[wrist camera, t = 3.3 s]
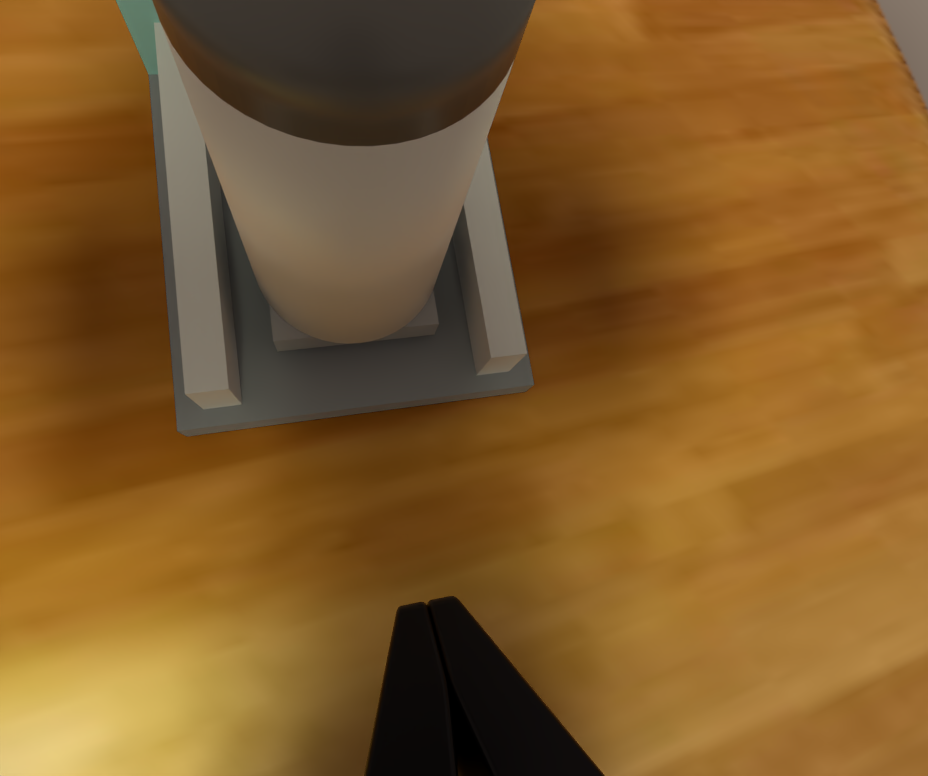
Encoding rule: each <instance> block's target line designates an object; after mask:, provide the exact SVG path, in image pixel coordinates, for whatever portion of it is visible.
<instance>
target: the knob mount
mask: <svg viewBox="0 0 928 776" xmlns="http://www.w3.org/2000/svg"><path fill="white" fill-rule="evenodd" d="M116 2H117V4H118V6H119V8H120V11H121V13H122V15H123V18H124V20H125V22H126V24H127V27H128V29H129V31H130V33H131V36H132V38H133V40H134V42H135V45H136V47H137V49H138V51H139V54H140V56H141V58H142V61H143V63H144V65H145V67H146V70H147V72H148V74H149V85H150V97H151V110H152V122H153V135H154V147H155V160H156V172H157V185H158V197H159V209H160V222H161V234H162V247H163V259H164V272H165V284H166V297H167V309H168V322H169V334H170V347H171V359H172V372H173V384H174V396H175V409H176V421H177V431H178V432H180V433H181V434H183V435H185V436H194V435H201V434H209V433H217V432H224V431H232V430H239V429H247V428H254V427H262V426H270V425H277V424H285V423H292V422H300V421H307V420H315V419H323V418H330V417H338V416H345V415H353V414H361V413H368V412H376V411H383V410H391V409H398V408H406V407H414V406H421V405H429V404H436V403H444V402H452V401H459V400H467V399H474V398H482V397H489V396H497V395H505V394H512V393H520V392H526V391H527V390H528V389H530V388H531V387H532V386H533V385H534V381H533V375H532V370H531V365H530V360H529V354H528V349H527V344H526V339H525V333H524V328H523V323H522V318H521V312H520V307H519V302H518V296H517V291H516V286H515V281H514V275H513V270H512V265H511V260H510V254H509V249H508V244H507V239H506V233H505V228H504V223H503V217H502V212H501V207H500V202H499V196H498V191H497V186H496V181H495V175H494V170H493V165H492V160H491V154H490V149H489V144H488V138H487V139H486V141H485V144H484V147H483V150H482V153H481V156H480V158H479V161H478V164H477V167H476V170H475V172H474V175H473V178H472V181H471V184H470V187H469V189H468V192H467V195H466V198H465V201H464V204H463V206H462V209H461V212H460V215H459V218H458V221H457V223H456V226H455V229H454V232H453V235H452V237H451V240H450V243H449V246H448V249H447V252H446V254H445V257H444V260H443V263H442V266H441V269H440V271H439V274H438V277H437V280H436V283H435V285H434V288H433V290H434V297H435V303H436V309H437V315H438V321H439V325H438V327H437V329H436V332H435V334H434V335H426V336H417V337H408V338H398V339H389V340H380V341H371V342H363V343H352V344H343V345H334V346H325V347H316V348H307V349H297V350H288V351H279V352H277V349H276V347H275V344H274V342H273V334H272V325H271V316H270V307H269V303H268V302H267V300H266V299H265V297H264V296H263V294H262V292H261V290H260V288H259V286H258V283H257V280H256V278H255V275H254V272H253V269H252V267H251V264H250V261H249V259H248V256H247V253H246V251H245V248H244V245H243V243H242V240H241V237H240V235H239V232H238V229H237V227H236V224H235V221H234V218H233V216H232V213H231V210H230V208H229V205H228V202H227V200H226V197H225V194H224V192H223V189H222V186H221V184H220V181H219V178H218V176H217V173H216V170H215V167H214V165H213V162H212V159H211V157H210V154H209V151H208V149H207V146H206V143H205V141H204V138H203V135H202V133H201V130H200V127H199V125H198V122H197V119H196V116H195V114H194V111H193V108H192V106H191V103H190V100H189V98H188V95H187V92H186V90H185V87H184V84H183V82H182V79H181V76H180V74H179V71H178V68H177V65H176V63H175V60H174V57H173V55H172V52H171V49H170V47H169V44H168V41H167V39H166V36H165V33H164V31H163V28H162V25H161V22H160V20H159V17H158V14H157V12H156V9H155V6H154V4H153V1H152V0H116Z"/></svg>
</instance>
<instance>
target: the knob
mask: <svg viewBox="0 0 928 776" xmlns="http://www.w3.org/2000/svg"><path fill="white" fill-rule="evenodd" d="M152 1H153V4H154V6H155V9H156V12H157V14H158V17H159V20H160V22H161V25H162V28H163V31H164V33H165V36H166V39H167V41H168V44H169V47H170V49H171V52H172V55H173V57H174V60H175V63H176V65H177V68H178V71H179V74H180V76H181V79H182V82H183V84H184V87H185V90H186V92H187V95H188V98H189V100H190V103H191V106H192V108H193V111H194V114H195V116H196V119H197V122H198V125H199V127H200V130H201V133H202V135H203V138H204V141H205V143H206V146H207V149H208V151H209V154H210V157H211V159H212V162H213V165H214V167H215V170H216V173H217V176H218V178H219V181H220V184H221V186H222V189H223V192H224V194H225V197H226V200H227V202H228V205H229V208H230V210H231V213H232V216H233V218H234V221H235V224H236V227H237V229H238V232H239V235H240V237H241V240H242V243H243V245H244V248H245V251H246V253H247V256H248V259H249V261H250V264H251V267H252V269H253V272H254V275H255V278H256V280H257V283H258V286H259V288H260V290H261V292H262V294H263V296H264V297H265V299H266V300H267V302H268V303H269V307H270V316H271V325H272V334H273V342H274V344H275V347H276V349H277V352H279V351H288V350H297V349H307V348H316V347H325V346H334V345H343V344H352V343H363V342H371V341H380V340H389V339H398V338H408V337H417V336H426V335H434V334H435V332H436V329H437V327H438V325H439V321H438V315H437V309H436V303H435V297H434V290H433V288H434V285H435V283H436V280H437V277H438V274H439V271H440V269H441V266H442V263H443V260H444V257H445V254H446V252H447V249H448V246H449V243H450V240H451V237H452V235H453V232H454V229H455V226H456V223H457V221H458V218H459V215H460V212H461V209H462V206H463V204H464V201H465V198H466V195H467V192H468V189H469V187H470V184H471V181H472V178H473V175H474V172H475V170H476V167H477V164H478V161H479V158H480V156H481V153H482V150H483V147H484V144H485V141H486V139H487V136H488V133H489V130H490V127H491V124H492V122H493V119H494V116H495V113H496V110H497V107H498V105H499V102H500V99H501V96H502V93H503V91H504V88H505V85H506V82H507V79H508V76H509V74H510V71H511V68H512V65H513V62H514V59H515V57H516V54H517V51H518V48H519V45H520V43H521V40H522V37H523V34H524V31H525V28H526V26H527V23H528V20H529V17H530V14H531V11H532V9H533V6H534V3H535V0H152Z"/></svg>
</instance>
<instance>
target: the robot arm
mask: <svg viewBox="0 0 928 776" xmlns="http://www.w3.org/2000/svg"><path fill="white" fill-rule="evenodd" d="M364 776H605V775H604V774H603V773H602V772H601V771H600V769H599V768H598V767H597V766H596V765H595V763H594V762H593V761H592V760H591V759H590V757H589V756H588V755H587V754H586V753H585V751H584V750H583V749H582V748H581V747H580V745H579V744H578V743H577V742H576V740H575V739H574V738H573V737H572V736H571V734H570V733H569V732H568V731H567V730H566V728H565V727H564V726H563V725H562V724H561V722H560V721H559V720H558V719H557V718H556V716H555V715H554V714H553V713H552V712H551V710H550V709H549V708H548V707H547V705H546V704H545V703H544V702H543V701H542V699H541V698H540V697H539V696H538V695H537V693H536V692H535V691H534V690H533V689H532V687H531V686H530V685H529V684H528V683H527V681H526V680H525V679H524V678H523V677H522V675H521V674H520V673H519V672H518V670H517V669H516V668H515V667H514V666H513V664H512V663H511V662H510V661H509V660H508V658H507V657H506V656H505V655H504V654H503V652H502V651H501V650H500V649H499V648H498V646H497V645H496V644H495V643H494V642H493V640H492V639H491V638H490V637H489V635H488V634H487V633H486V632H485V631H484V629H483V628H482V627H481V626H480V625H479V623H478V622H477V621H476V620H475V619H474V617H473V616H472V615H471V614H470V613H469V611H468V610H467V609H466V608H465V607H464V605H463V604H462V603H461V602H460V601H459V600H458V599H457V598H456V597H454V596H449V597H444V598H439V599H433V600H430V601H429V602H428V604H427V605H426V604H425V603H424V602H418V603H413V604H408V605H403V606H400V607H399V608H398V610H397V612H396V617H395V622H394V627H393V632H392V637H391V642H390V647H389V652H388V657H387V663H386V668H385V673H384V678H383V683H382V688H381V693H380V698H379V703H378V708H377V713H376V718H375V723H374V728H373V733H372V738H371V743H370V748H369V753H368V759H367V764H366V769H365V774H364Z"/></svg>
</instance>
